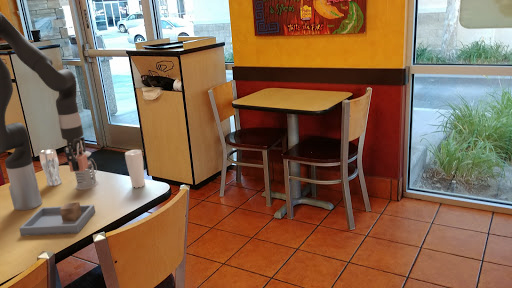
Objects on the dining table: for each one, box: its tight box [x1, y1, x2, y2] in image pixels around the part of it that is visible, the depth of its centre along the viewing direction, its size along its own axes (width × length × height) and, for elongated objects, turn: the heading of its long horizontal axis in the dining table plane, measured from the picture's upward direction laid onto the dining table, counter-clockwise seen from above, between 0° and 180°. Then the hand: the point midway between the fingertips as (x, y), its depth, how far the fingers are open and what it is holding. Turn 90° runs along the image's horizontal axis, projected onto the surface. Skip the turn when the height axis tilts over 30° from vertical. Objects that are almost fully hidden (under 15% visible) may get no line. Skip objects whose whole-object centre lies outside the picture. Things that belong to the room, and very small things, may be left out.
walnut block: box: [60, 201, 82, 222], centre depth 164 cm, size 5×5×5 cm
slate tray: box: [18, 204, 96, 237], centre depth 163 cm, size 20×16×3 cm
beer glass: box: [38, 148, 63, 187], centre depth 199 cm, size 7×7×15 cm
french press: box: [74, 150, 100, 191], centre depth 193 cm, size 10×12×25 cm
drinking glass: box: [124, 149, 146, 189], centre depth 189 cm, size 7×7×15 cm
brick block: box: [68, 154, 88, 173], centre depth 172 cm, size 5×5×5 cm
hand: (79, 167), depth 173 cm, fingers closed on brick block, 5 cm apart
